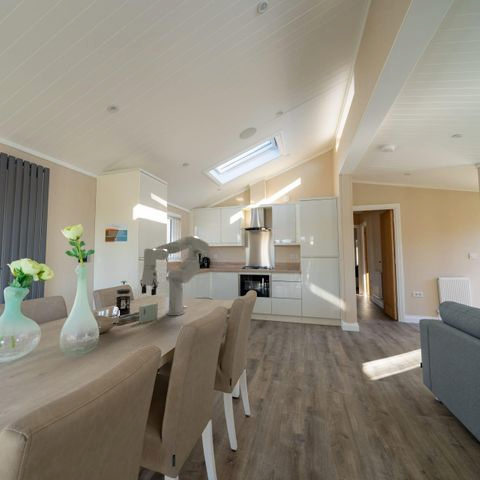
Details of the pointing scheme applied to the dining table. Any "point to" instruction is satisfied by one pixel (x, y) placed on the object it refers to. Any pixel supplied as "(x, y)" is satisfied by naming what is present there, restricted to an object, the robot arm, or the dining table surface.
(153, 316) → the door panel
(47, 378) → the dining table surface
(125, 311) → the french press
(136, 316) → the door track
